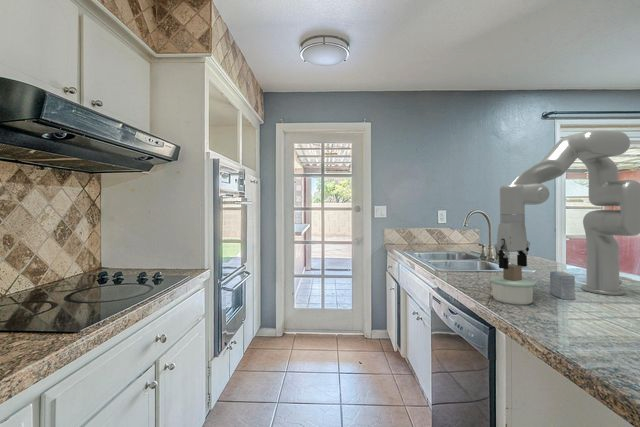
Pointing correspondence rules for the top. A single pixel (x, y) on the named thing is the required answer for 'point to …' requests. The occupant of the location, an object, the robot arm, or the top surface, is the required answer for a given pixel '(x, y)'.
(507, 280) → the lid
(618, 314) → the top surface
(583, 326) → the top surface
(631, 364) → the top surface
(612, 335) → the top surface
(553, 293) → the medicine box
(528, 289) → the bowl
